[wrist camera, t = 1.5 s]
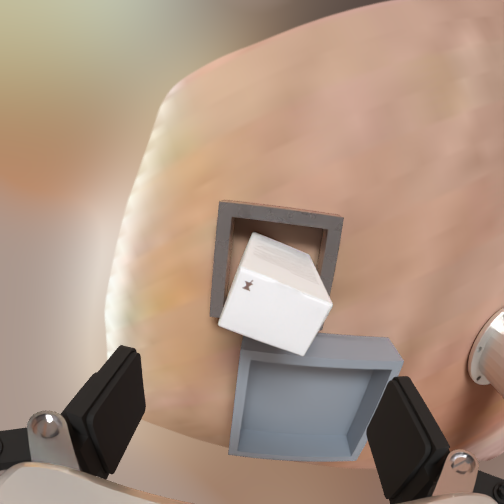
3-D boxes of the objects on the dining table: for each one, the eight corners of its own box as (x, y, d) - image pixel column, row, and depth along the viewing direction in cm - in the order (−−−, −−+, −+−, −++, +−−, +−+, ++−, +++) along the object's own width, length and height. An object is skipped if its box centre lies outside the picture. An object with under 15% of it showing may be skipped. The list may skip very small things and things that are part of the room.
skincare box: (236, 270, 29) (213, 325, 18) (253, 230, 28) (238, 263, 17) (293, 293, 30) (304, 359, 18) (311, 254, 29) (336, 302, 17)
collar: (337, 214, 27) (343, 217, 25) (318, 319, 30) (321, 330, 28) (224, 199, 28) (219, 201, 25) (214, 306, 30) (209, 316, 28)
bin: (388, 337, 30) (403, 361, 25) (349, 434, 34) (356, 460, 29) (245, 324, 31) (240, 349, 26) (233, 427, 34) (228, 454, 30)
